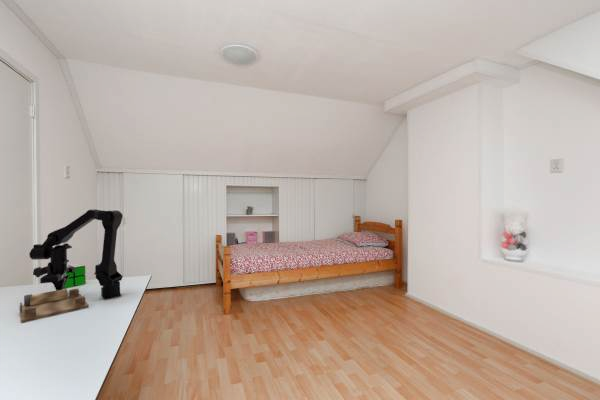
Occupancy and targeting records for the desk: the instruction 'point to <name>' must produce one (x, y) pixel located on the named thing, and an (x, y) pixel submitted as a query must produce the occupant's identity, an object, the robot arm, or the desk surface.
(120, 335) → the desk surface
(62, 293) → the hinged leg
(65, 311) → the seat
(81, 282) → the puzzle cube
